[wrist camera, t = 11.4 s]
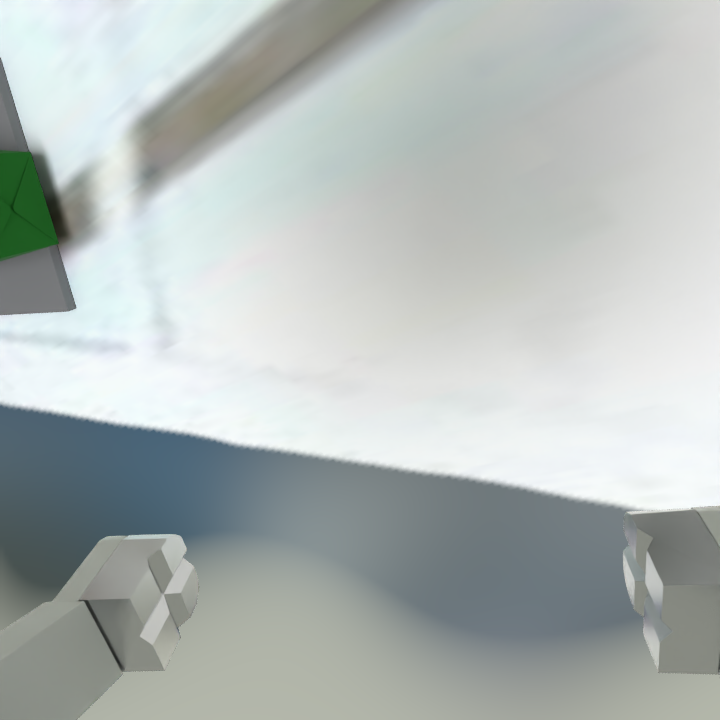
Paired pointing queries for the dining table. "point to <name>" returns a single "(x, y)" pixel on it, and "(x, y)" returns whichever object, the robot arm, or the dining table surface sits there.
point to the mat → (35, 269)
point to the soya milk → (22, 207)
